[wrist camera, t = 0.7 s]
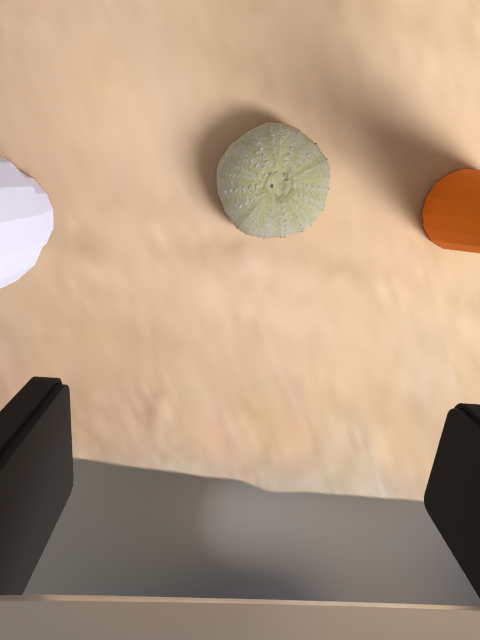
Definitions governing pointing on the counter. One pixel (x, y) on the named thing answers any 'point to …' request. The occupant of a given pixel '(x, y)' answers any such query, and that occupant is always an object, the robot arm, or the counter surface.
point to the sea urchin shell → (273, 181)
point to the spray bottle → (454, 211)
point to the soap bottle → (21, 222)
